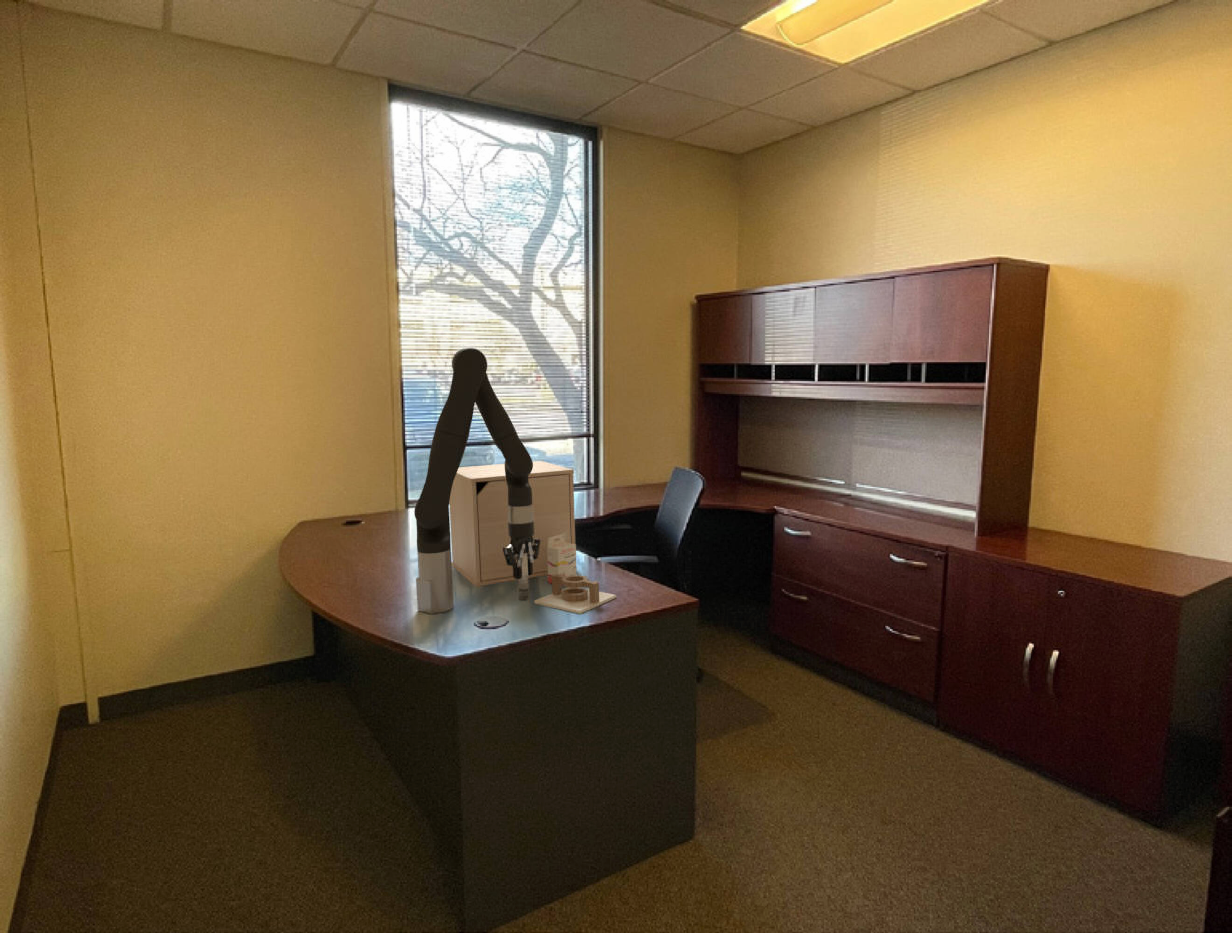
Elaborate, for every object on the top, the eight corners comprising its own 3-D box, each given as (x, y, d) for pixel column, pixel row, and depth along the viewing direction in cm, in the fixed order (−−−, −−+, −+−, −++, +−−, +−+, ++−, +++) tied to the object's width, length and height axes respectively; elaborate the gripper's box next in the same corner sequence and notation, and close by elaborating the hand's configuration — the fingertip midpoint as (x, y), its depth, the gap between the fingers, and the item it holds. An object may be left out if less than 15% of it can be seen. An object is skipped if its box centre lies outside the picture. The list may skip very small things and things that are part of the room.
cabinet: (475, 586, 227) (470, 478, 223) (451, 565, 253) (446, 468, 248) (576, 570, 243) (573, 469, 238) (544, 552, 269) (541, 460, 264)
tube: (524, 601, 211) (522, 554, 210) (516, 599, 213) (514, 553, 211) (531, 598, 214) (529, 552, 212) (523, 596, 216) (522, 550, 214)
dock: (579, 613, 199) (579, 591, 198) (534, 603, 209) (533, 581, 208) (616, 597, 213) (615, 576, 212) (571, 588, 223) (571, 567, 222)
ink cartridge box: (559, 585, 226) (557, 539, 224) (547, 583, 229) (546, 537, 227) (577, 579, 232) (576, 534, 230) (566, 576, 236) (564, 532, 234)
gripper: (528, 514, 218) (530, 569, 221) (494, 522, 207) (496, 580, 209) (546, 516, 214) (548, 573, 216) (513, 525, 203) (515, 584, 205)
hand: (523, 576), depth 213 cm, fingers open, 4 cm apart
